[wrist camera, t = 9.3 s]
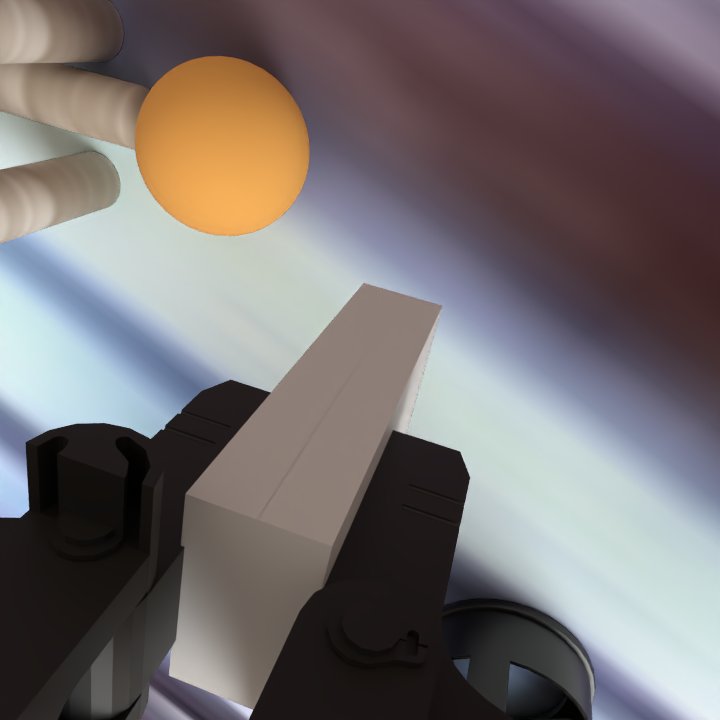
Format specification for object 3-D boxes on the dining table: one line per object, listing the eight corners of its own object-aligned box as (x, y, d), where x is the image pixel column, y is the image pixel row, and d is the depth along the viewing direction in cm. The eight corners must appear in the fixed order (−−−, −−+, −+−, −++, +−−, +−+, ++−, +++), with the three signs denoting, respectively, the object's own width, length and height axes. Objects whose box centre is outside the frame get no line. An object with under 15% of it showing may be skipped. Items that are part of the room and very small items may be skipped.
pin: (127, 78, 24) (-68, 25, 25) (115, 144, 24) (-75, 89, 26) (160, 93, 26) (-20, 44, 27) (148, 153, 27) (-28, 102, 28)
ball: (110, 24, 21) (258, 56, 25) (97, 202, 24) (233, 205, 28) (210, 61, 18) (361, 92, 22) (182, 265, 20) (323, 257, 25)
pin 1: (124, 0, 25) (-62, -23, 17) (123, 68, 26) (-53, 73, 18) (69, -13, 25) (-137, -41, 18) (69, 54, 26) (-123, 54, 19)
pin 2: (121, 159, 28) (-41, 198, 20) (119, 214, 29) (-34, 269, 21) (71, 145, 28) (-105, 178, 20) (71, 200, 29) (-96, 250, 22)
